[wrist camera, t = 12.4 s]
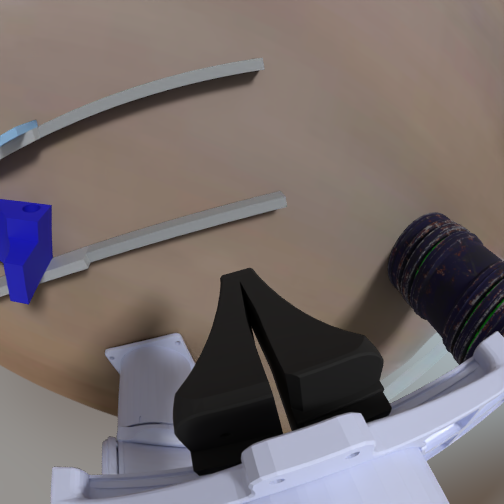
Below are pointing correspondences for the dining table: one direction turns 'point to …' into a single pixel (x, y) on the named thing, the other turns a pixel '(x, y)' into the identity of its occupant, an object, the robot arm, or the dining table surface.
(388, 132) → the dining table surface
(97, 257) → the grey u-shaped frame
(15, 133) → the light blue long bar
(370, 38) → the dining table surface
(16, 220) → the blue arched bracket
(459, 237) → the storage jar
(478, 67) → the dining table surface
